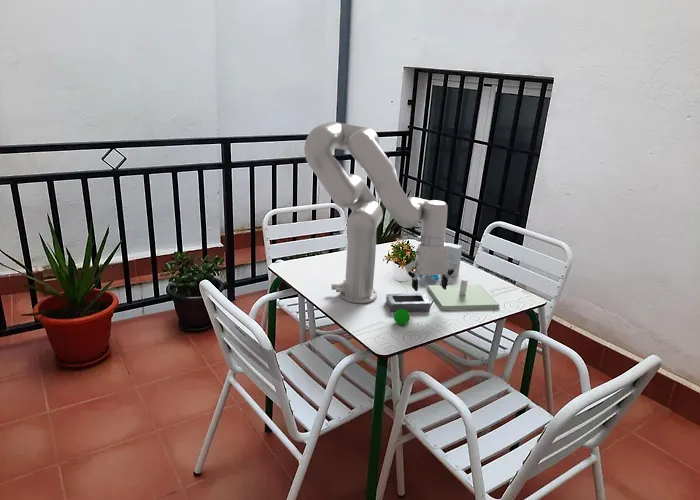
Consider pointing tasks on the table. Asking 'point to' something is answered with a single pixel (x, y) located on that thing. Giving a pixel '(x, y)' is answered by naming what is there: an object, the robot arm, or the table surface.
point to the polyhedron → (402, 316)
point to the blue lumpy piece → (432, 276)
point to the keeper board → (462, 297)
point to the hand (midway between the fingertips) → (429, 288)
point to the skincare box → (454, 256)
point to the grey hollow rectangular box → (408, 302)
